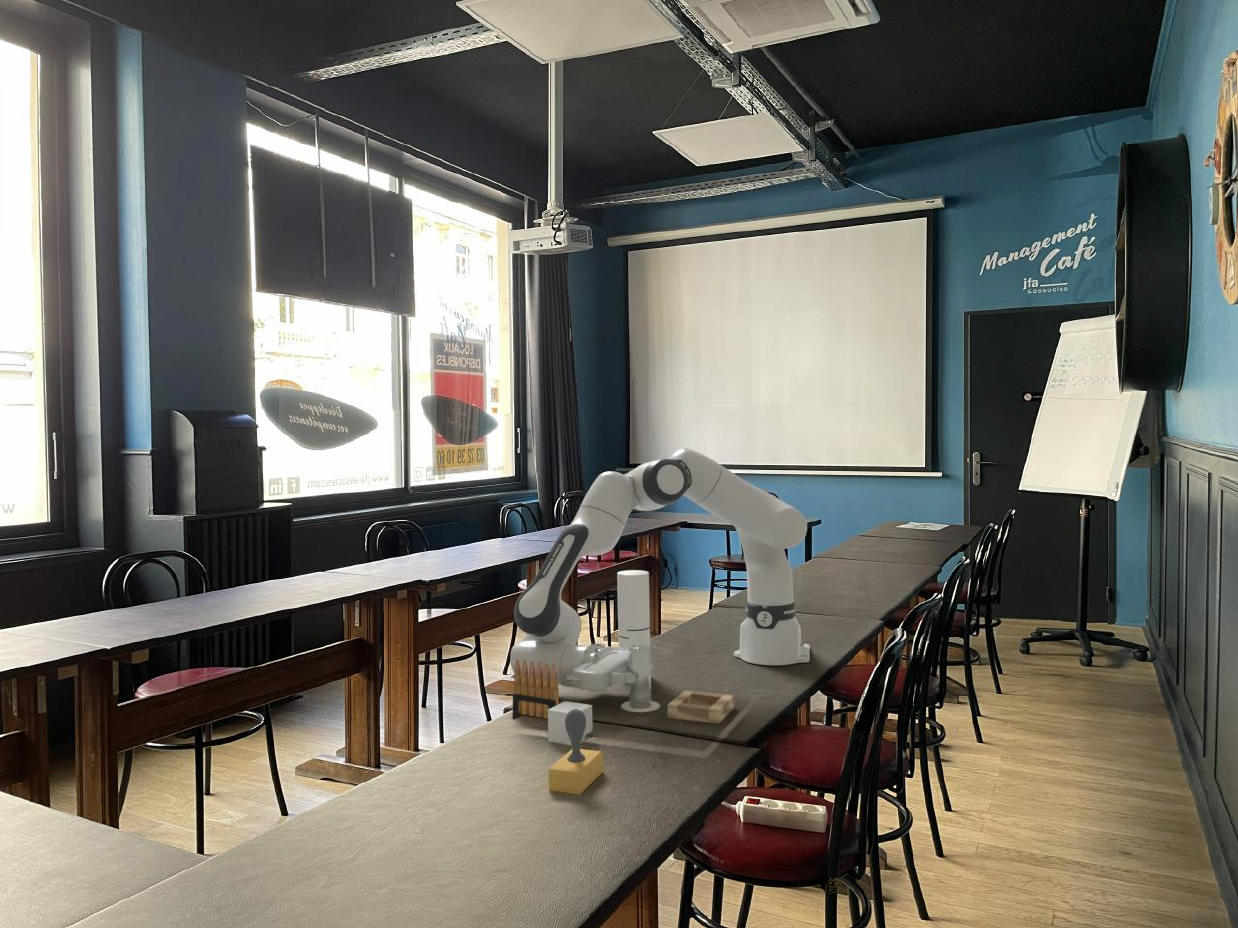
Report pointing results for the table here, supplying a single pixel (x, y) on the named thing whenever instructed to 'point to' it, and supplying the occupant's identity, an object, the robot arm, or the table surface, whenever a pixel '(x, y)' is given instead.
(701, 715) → the beige wooden square frame
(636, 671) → the clear glass tube
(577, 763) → the rubber stamp
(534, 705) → the ammunition clip
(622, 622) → the cylindrical container
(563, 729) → the light grey cube
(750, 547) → the robot arm
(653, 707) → the stand disc
